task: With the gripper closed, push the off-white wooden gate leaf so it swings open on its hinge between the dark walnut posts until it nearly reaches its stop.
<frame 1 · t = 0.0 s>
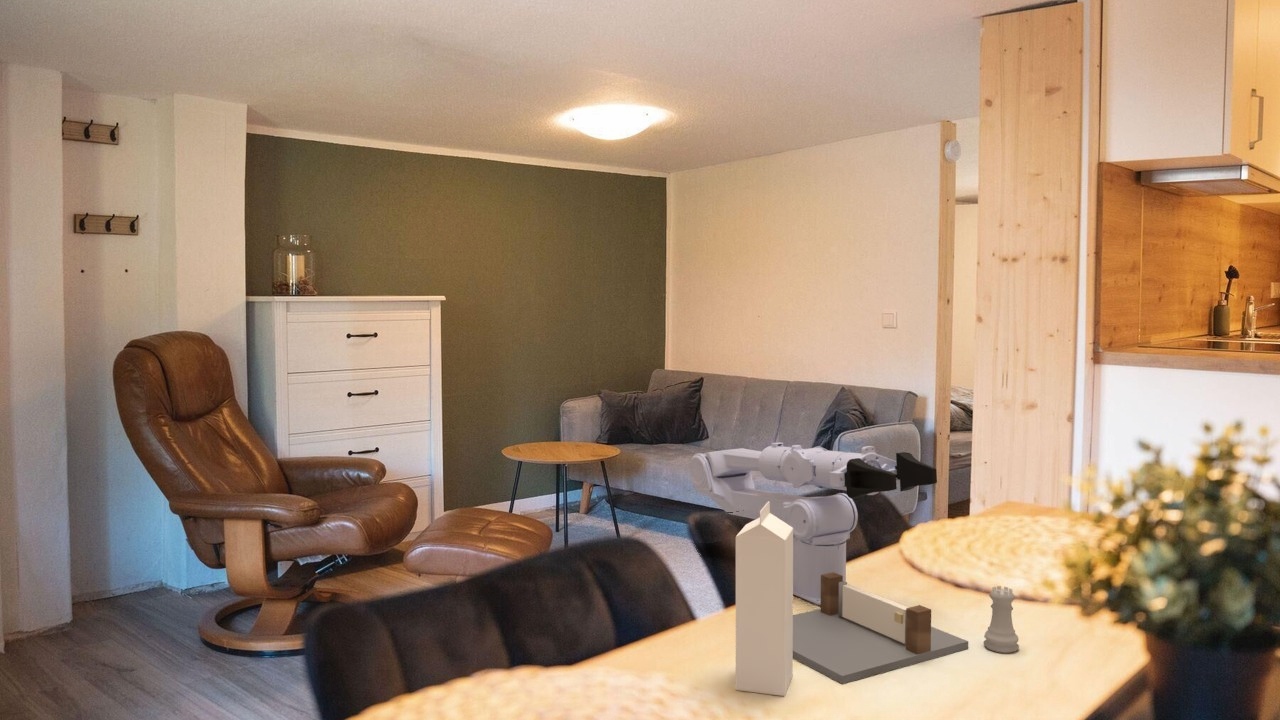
hand: (915, 479, 131), 22 cm above the table, tool horizontal, fingers open, 7 cm apart
gate posts: (872, 610, 131), on the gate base, point 4 cm above the table
milk: (764, 685, 116), on the table
rook chess piece: (1001, 649, 127), on the table
gate leaf: (872, 611, 131), point 4 cm above the table, hinge at 0.0°
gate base: (853, 640, 130), on the table
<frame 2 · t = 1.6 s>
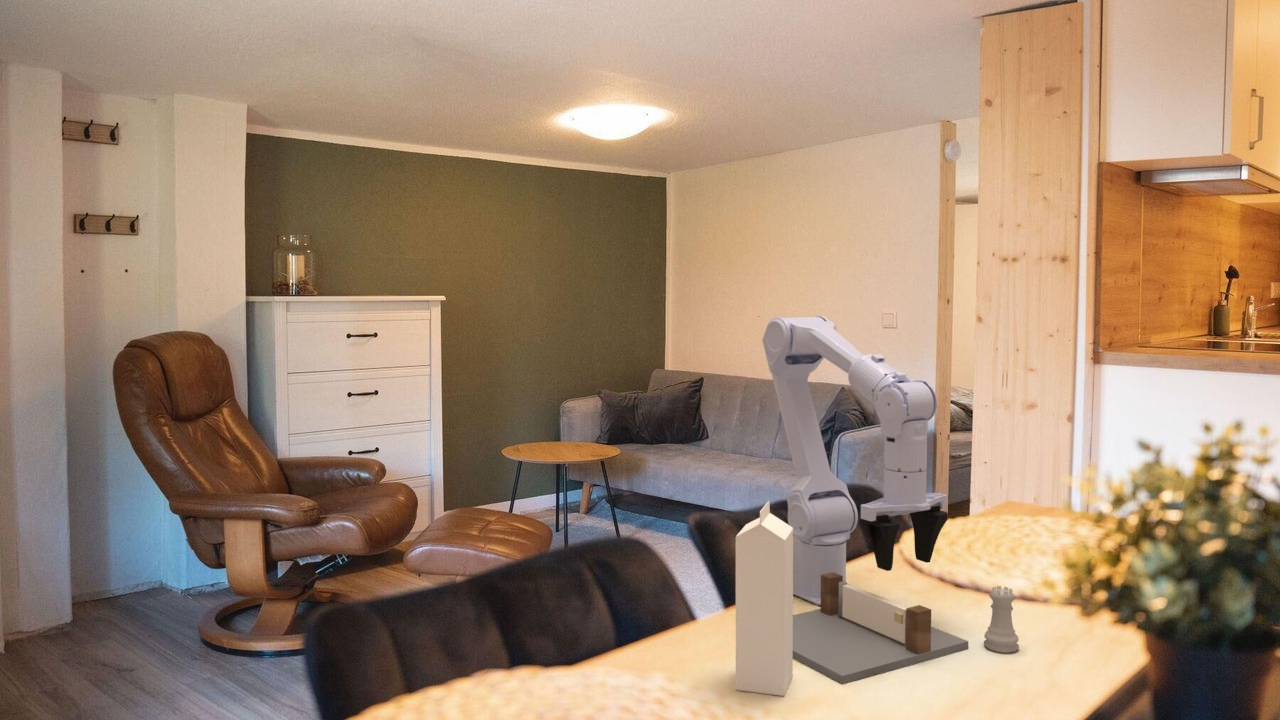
hand: (903, 564, 133), 9 cm above the table, tool pointing down, fingers open, 7 cm apart
nothing on the table moved.
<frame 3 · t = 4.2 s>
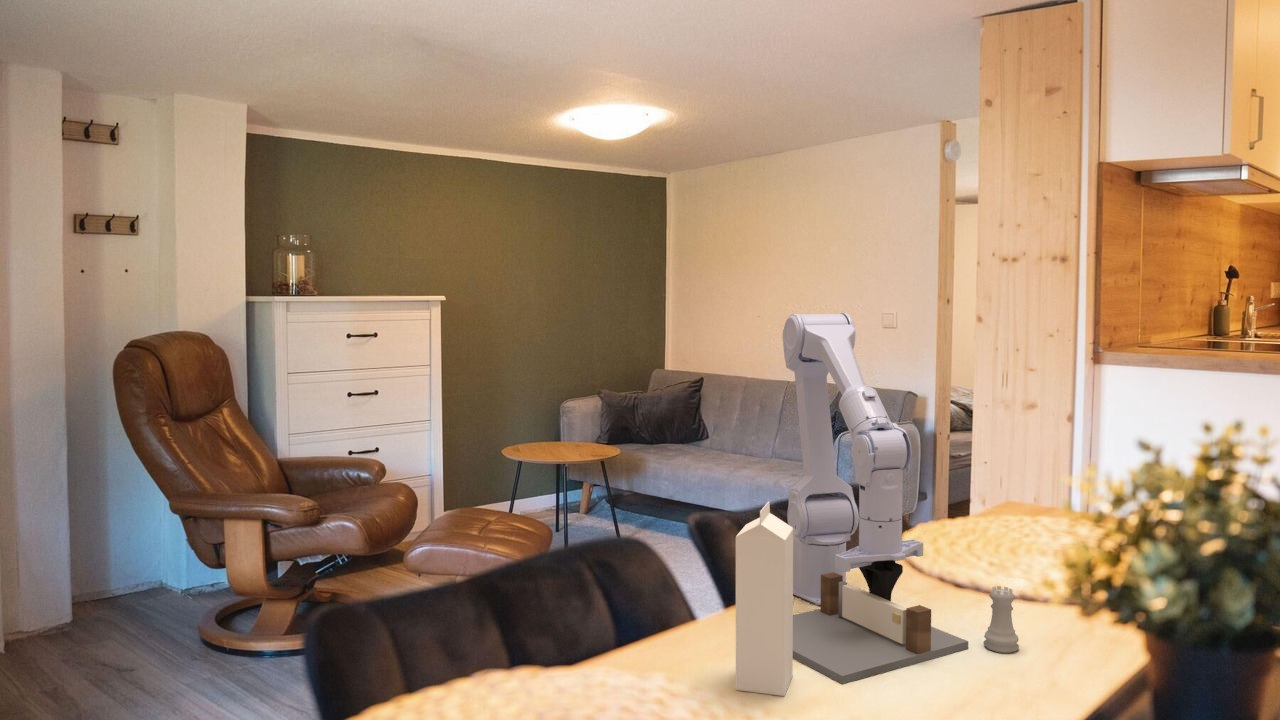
hand: (879, 614, 131), 3 cm above the table, tool pointing down, fingers closed, pressing on gate leaf
gate leaf: (871, 611, 131), point 4 cm above the table, hinge at 1.8°, touching gripper
everything else where it was.
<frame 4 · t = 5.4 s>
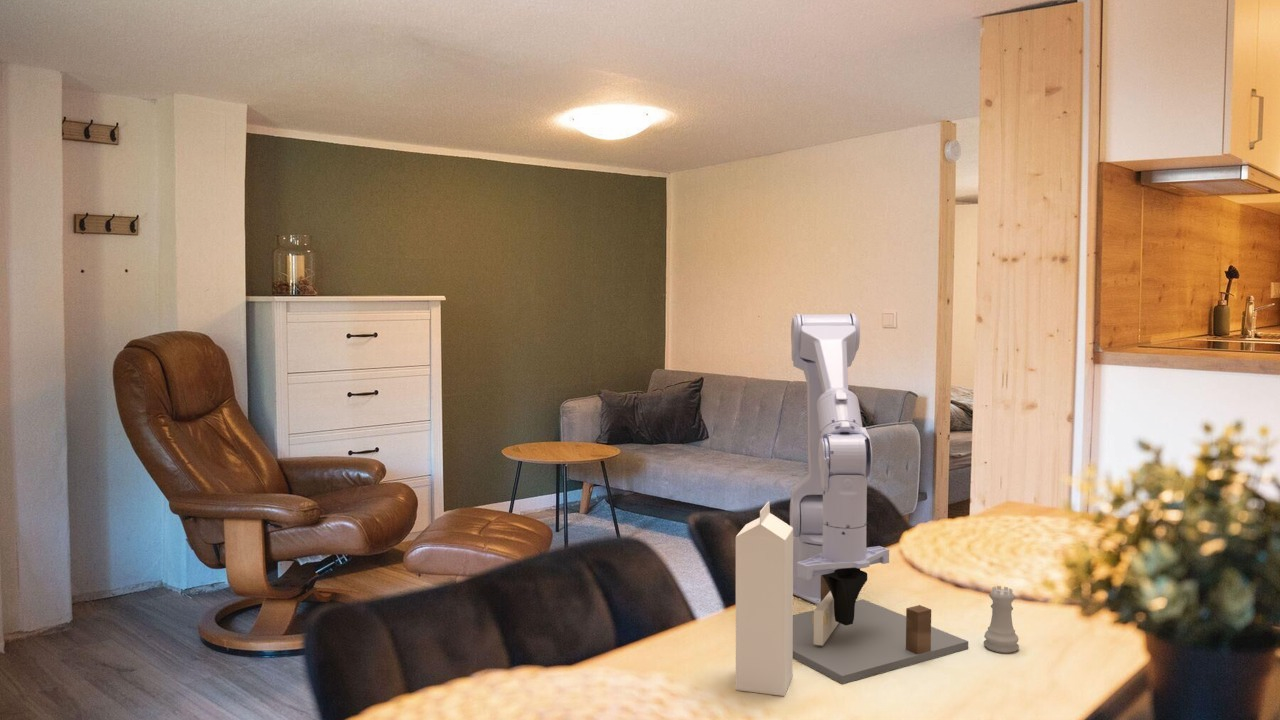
hand: (843, 622, 128), 3 cm above the table, tool pointing down, fingers closed, pressing on gate leaf
gate leaf: (830, 612, 130), point 4 cm above the table, hinge at 54.7°, touching gripper
everything else where it was.
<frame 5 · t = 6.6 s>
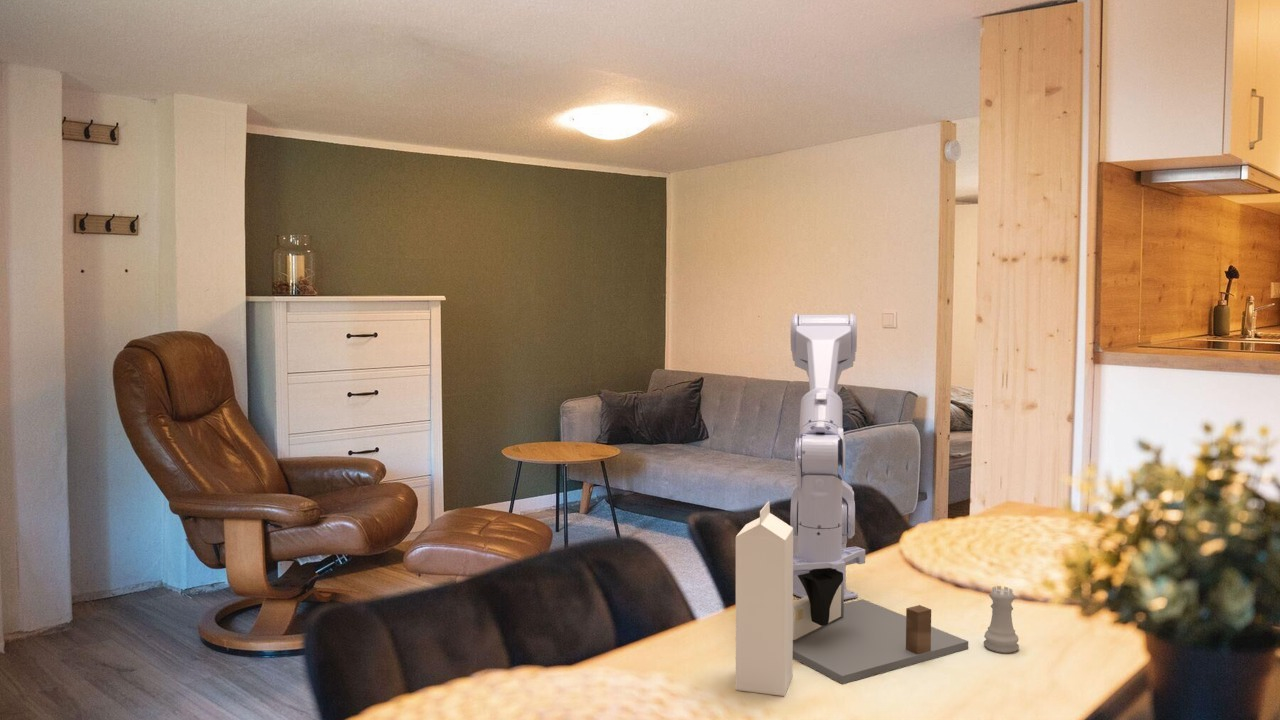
hand: (819, 623, 128), 3 cm above the table, tool pointing down, fingers closed, pressing on gate leaf
gate leaf: (817, 609, 132), point 4 cm above the table, hinge at 72.1°, touching gripper
everything else where it was.
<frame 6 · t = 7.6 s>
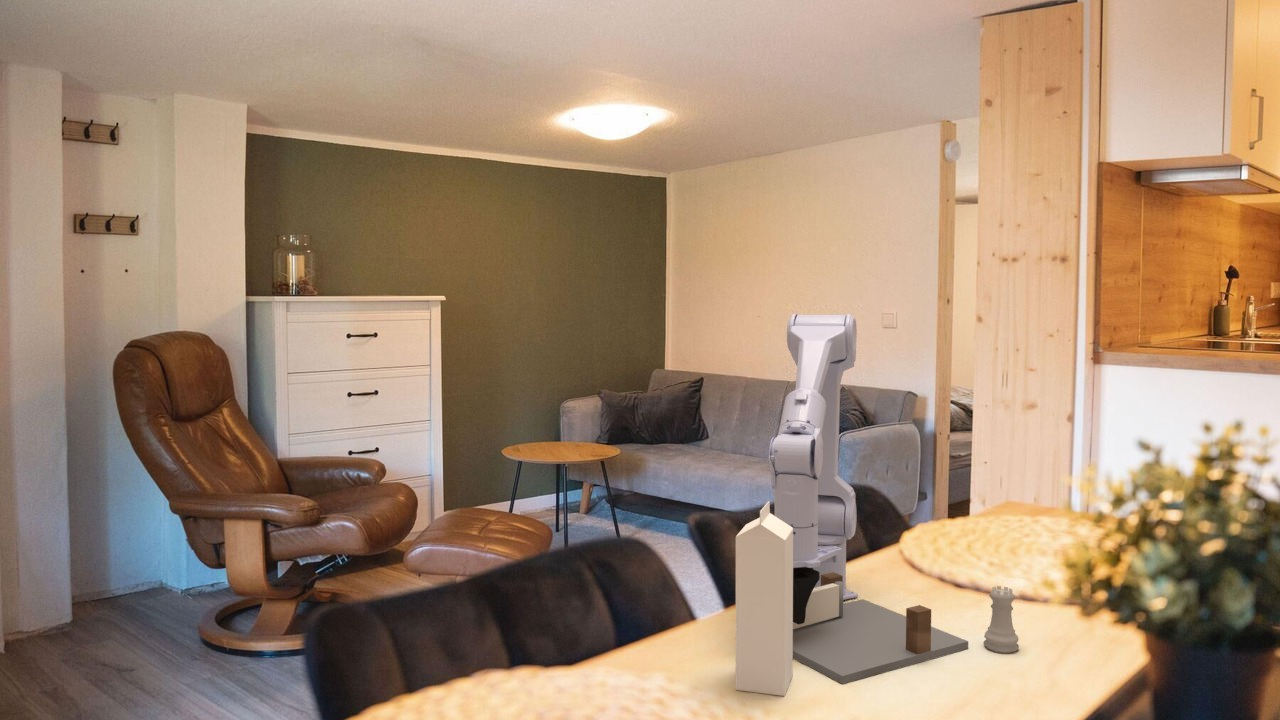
hand: (796, 621, 128), 3 cm above the table, tool pointing down, fingers closed, pressing on gate leaf
gate leaf: (808, 607, 133), point 4 cm above the table, hinge at 85.7°, touching gripper
everything else where it was.
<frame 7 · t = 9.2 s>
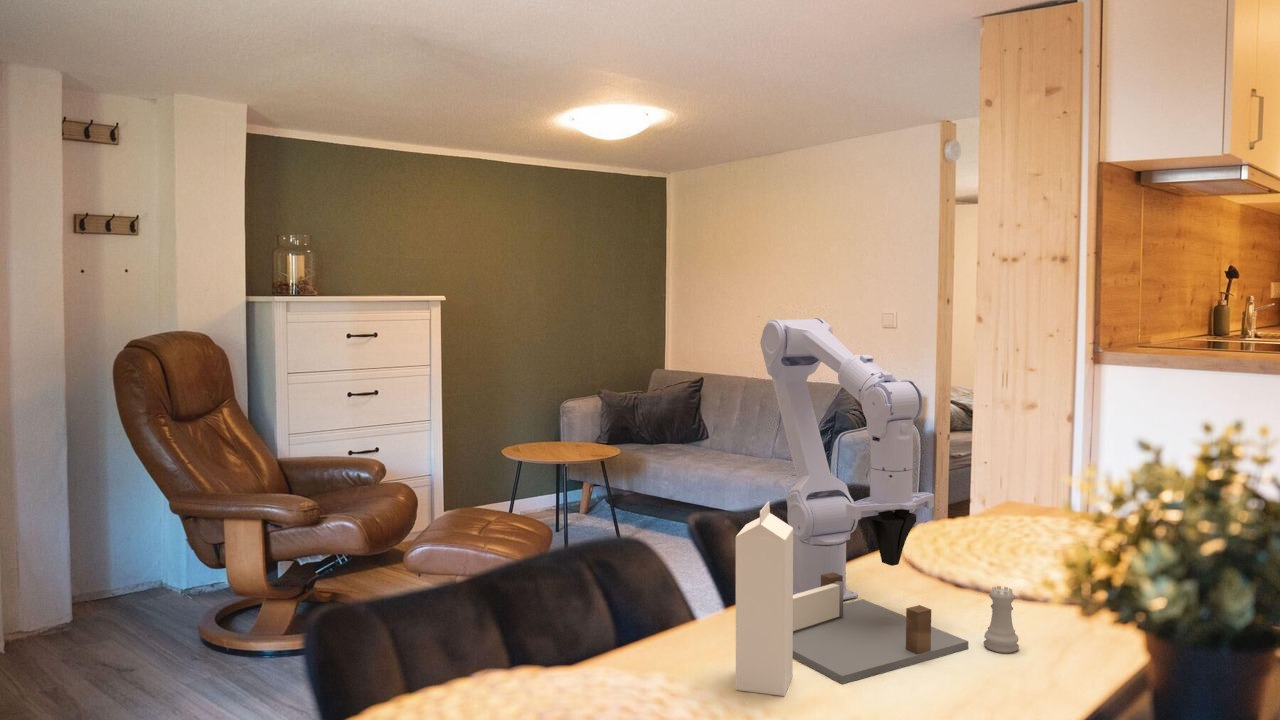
hand: (890, 563, 133), 9 cm above the table, tool pointing down, fingers closed
gate leaf: (810, 607, 132), point 4 cm above the table, hinge at 82.9°
everything else where it was.
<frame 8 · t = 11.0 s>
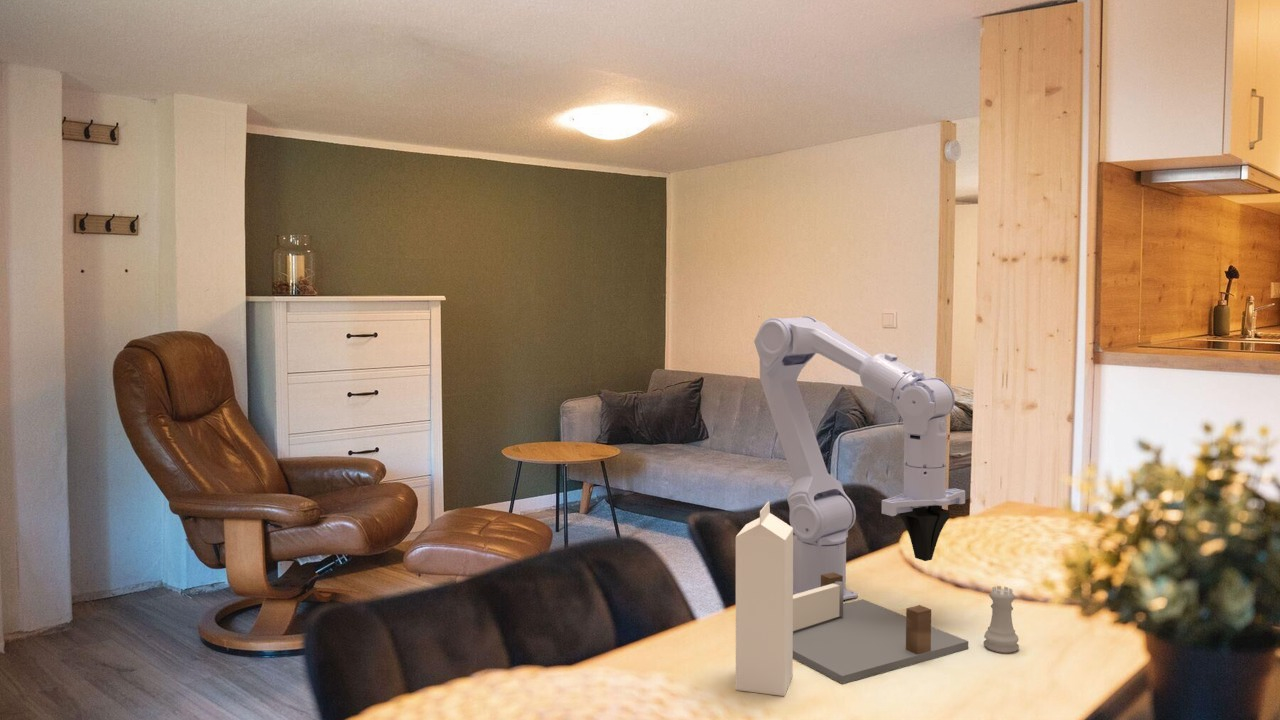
hand: (923, 558, 136), 9 cm above the table, tool pointing down, fingers closed
nothing on the table moved.
at the end: gate leaf at +83° (first picture: +0°); rook chess piece moved 0.2 cm from its start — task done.
